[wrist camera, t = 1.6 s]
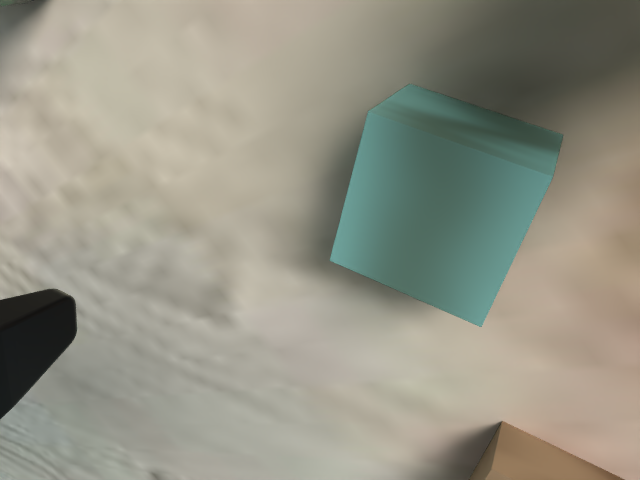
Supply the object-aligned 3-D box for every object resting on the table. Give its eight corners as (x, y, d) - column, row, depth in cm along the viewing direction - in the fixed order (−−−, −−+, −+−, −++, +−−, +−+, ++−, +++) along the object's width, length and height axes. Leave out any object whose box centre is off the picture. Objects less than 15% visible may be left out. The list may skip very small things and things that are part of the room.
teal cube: (563, 133, 17) (553, 176, 14) (502, 265, 20) (481, 327, 16) (410, 82, 18) (368, 111, 15) (372, 212, 21) (329, 260, 18)
